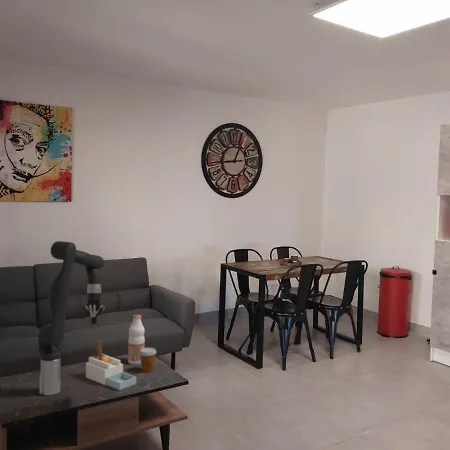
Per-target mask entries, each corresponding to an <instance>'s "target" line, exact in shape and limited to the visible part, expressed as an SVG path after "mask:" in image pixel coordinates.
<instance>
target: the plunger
mask: <svg viewBox="0 0 450 450" xmlns="http://www.w3.org/2000/svg"><path fill="white" fill-rule="evenodd" d="M103 354H104V353H103V341H102V340H101V339H100V340H99V339H98V340H96V341H95V355H93V358H95V359H98V360H100V361H101V358H102V357H103V356H106V354H104V355H103Z"/></svg>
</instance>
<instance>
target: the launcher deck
mask: <svg viewBox="0 0 450 450" xmlns="http://www.w3.org/2000/svg"><path fill="white" fill-rule="evenodd" d="M102 354H103V355H106V354H105V353H102ZM93 356H94V355H93ZM93 356H88V361H87V362H85V378H87V379H89V380H91V381H94V382H96V383H99V384H102V386H107V385H106V377H109V376H112V375H115V374H117V373H120V372H124V364H123V363H121V359H118V358H115V357H112V356H110V355H106V356H107V357H108V362H107V363H106V362H103V361H100V360H98V359H95V358H93Z"/></svg>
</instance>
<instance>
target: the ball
mask: <svg viewBox="0 0 450 450" xmlns="http://www.w3.org/2000/svg"><path fill="white" fill-rule="evenodd" d="M107 356H108V355H107ZM107 356H103V357H102V358H101V361H103V362H106V363H107V362H108V357H107Z"/></svg>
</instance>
